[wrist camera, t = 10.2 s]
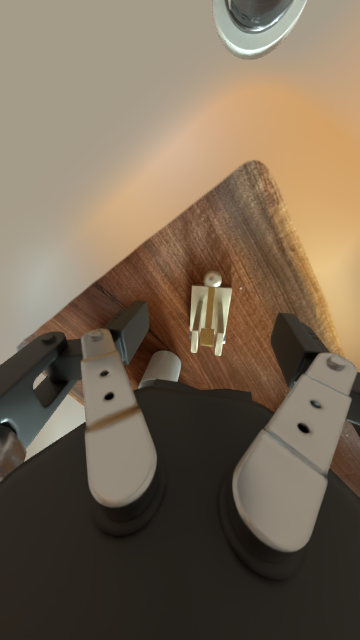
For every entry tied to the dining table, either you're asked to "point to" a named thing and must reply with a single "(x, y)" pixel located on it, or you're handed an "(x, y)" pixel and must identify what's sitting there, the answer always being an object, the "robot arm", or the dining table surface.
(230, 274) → the dining table surface
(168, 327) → the dining table surface
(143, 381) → the cup
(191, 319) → the switch bracket
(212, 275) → the switch lever
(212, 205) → the dining table surface
